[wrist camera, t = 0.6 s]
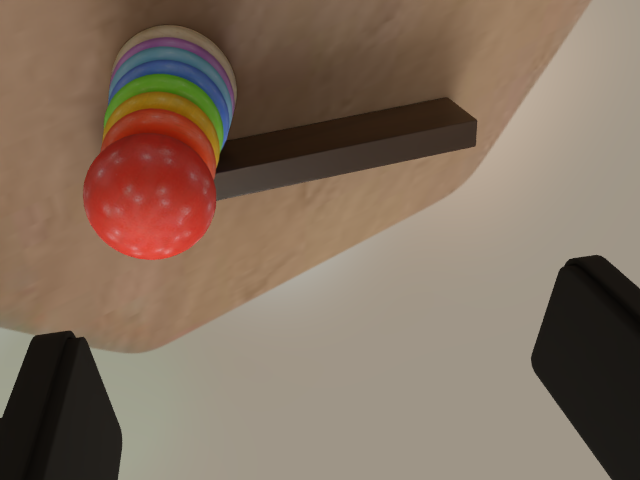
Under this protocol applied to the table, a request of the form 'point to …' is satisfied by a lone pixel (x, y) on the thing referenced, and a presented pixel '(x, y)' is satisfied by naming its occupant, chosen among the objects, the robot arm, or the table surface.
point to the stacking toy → (161, 143)
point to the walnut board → (342, 146)
